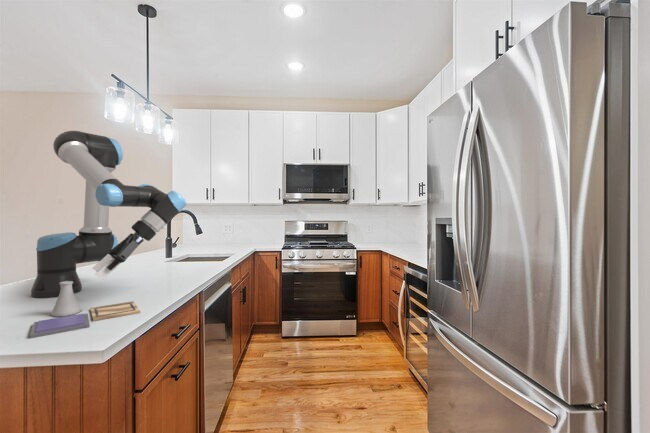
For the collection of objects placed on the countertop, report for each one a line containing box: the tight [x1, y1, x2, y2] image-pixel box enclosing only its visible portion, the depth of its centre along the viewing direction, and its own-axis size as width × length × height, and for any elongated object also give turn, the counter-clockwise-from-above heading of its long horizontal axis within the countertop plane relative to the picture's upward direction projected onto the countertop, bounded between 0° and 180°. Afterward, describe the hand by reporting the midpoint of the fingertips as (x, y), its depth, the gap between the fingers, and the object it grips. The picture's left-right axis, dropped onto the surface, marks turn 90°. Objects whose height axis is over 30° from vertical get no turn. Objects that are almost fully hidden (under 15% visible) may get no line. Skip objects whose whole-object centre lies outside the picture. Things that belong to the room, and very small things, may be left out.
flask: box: [50, 281, 83, 318], centre depth 97 cm, size 7×7×10 cm
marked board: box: [90, 300, 141, 322], centre depth 99 cm, size 14×12×1 cm
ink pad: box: [29, 313, 91, 339], centre depth 86 cm, size 12×12×1 cm
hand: (97, 273), depth 101 cm, fingers open, 13 cm apart
